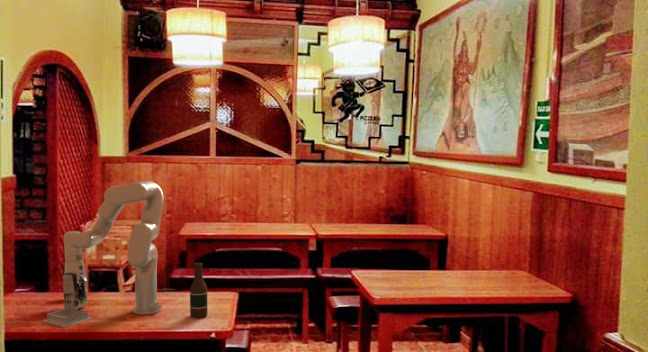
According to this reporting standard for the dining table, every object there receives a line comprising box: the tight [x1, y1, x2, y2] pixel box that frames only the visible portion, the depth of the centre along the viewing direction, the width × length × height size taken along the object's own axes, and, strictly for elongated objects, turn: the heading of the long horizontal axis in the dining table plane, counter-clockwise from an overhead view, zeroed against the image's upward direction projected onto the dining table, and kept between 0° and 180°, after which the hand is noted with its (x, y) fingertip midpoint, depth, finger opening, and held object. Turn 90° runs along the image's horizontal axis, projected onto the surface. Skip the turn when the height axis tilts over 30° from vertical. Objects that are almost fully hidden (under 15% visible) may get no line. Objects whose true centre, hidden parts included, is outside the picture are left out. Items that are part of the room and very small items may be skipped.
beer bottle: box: [189, 262, 208, 319], centre depth 259 cm, size 8×8×24 cm
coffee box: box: [62, 273, 89, 310], centre depth 269 cm, size 9×6×16 cm
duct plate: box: [42, 308, 93, 329], centre depth 253 cm, size 14×14×3 cm
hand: (75, 295), depth 269 cm, fingers closed on coffee box, 8 cm apart
